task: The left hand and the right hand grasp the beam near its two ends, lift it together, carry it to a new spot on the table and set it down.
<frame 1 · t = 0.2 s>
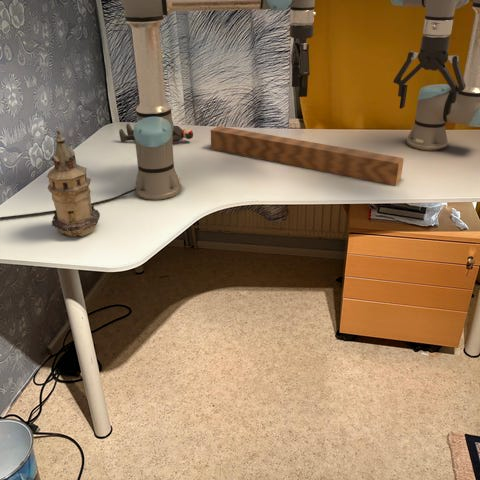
left hand: (299, 91, 180), 28 cm above the table, tool pointing down, fingers open, 13 cm apart
right hand: (424, 110, 160), 27 cm above the table, tool pointing down, fingers open, 13 cm apart
miniature building: (78, 229, 156), on the table
beam: (299, 163, 198), on the table
toy: (158, 140, 223), on the table
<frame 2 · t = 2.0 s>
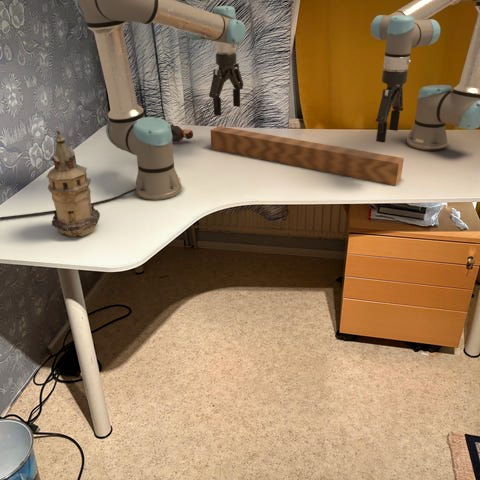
left hand: (227, 110, 205), 16 cm above the table, tool pointing down, fingers open, 13 cm apart
right hand: (387, 135, 177), 16 cm above the table, tool pointing down, fingers open, 13 cm apart
nothing on the table moved.
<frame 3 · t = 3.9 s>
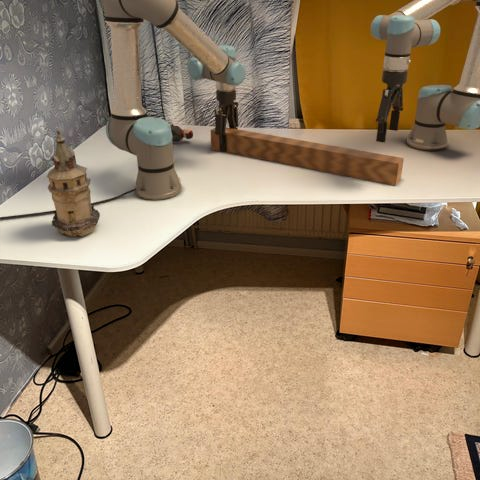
left hand: (227, 148, 212), 0 cm above the table, tool pointing down, fingers closed on beam, 6 cm apart
right hand: (387, 135, 177), 16 cm above the table, tool pointing down, fingers open, 13 cm apart
beam: (299, 163, 198), on the table, touching left hand
everything else where it was.
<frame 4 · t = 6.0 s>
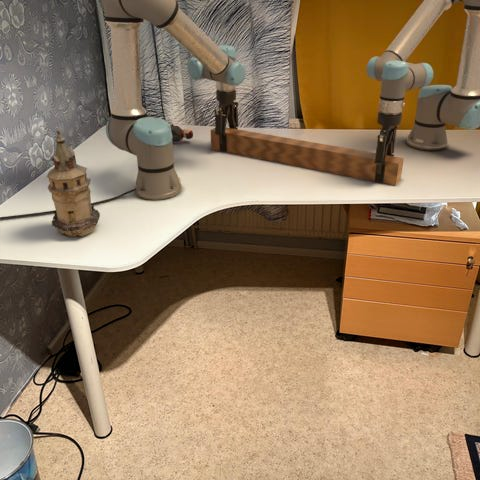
left hand: (227, 148, 212), 0 cm above the table, tool pointing down, fingers closed on beam, 6 cm apart
right hand: (381, 178, 184), 0 cm above the table, tool pointing down, fingers closed on beam, 6 cm apart
beam: (299, 163, 198), on the table, touching left hand, right hand
everything else where it was.
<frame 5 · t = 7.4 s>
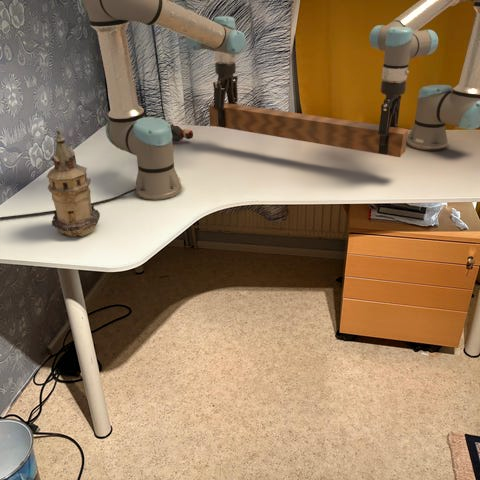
left hand: (226, 124, 207), 10 cm above the table, tool pointing down, fingers closed on beam, 6 cm apart
right hand: (385, 150, 179), 10 cm above the table, tool pointing down, fingers closed on beam, 6 cm apart
beam: (300, 137, 194), point 10 cm above the table, touching left hand, right hand
everything else where it was.
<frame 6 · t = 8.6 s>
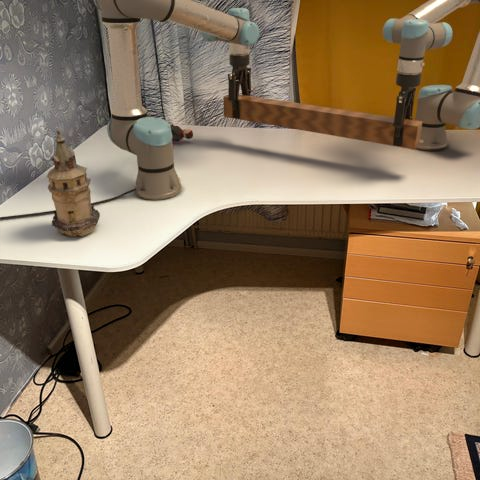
left hand: (240, 115, 209), 13 cm above the table, tool pointing down, fingers closed on beam, 6 cm apart
right hand: (400, 142, 181), 12 cm above the table, tool pointing down, fingers closed on beam, 6 cm apart
beam: (314, 129, 195), point 12 cm above the table, touching left hand, right hand
everything else where it was.
when the left hand's fingers open (2 cm above the table, at t = 11.2 s): beam drops 1 cm, on the table.
when the right hand's fingers open (2 cm above the table, at t = 11.2 s): beam drops 1 cm, on the table.
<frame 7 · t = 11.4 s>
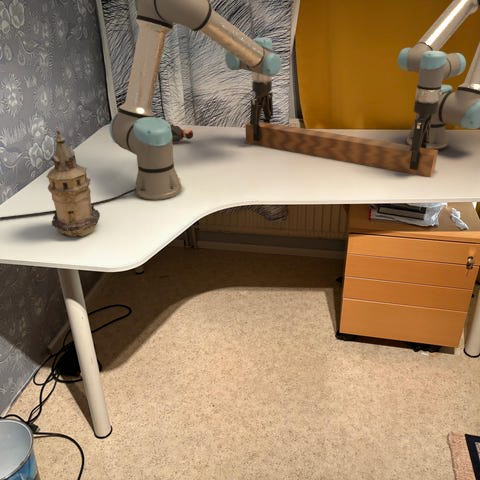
left hand: (261, 137, 217), 2 cm above the table, tool pointing down, fingers open, 8 cm apart
right hand: (416, 165, 189), 2 cm above the table, tool pointing down, fingers open, 8 cm apart
beam: (333, 156, 204), on the table
everything else where it was.
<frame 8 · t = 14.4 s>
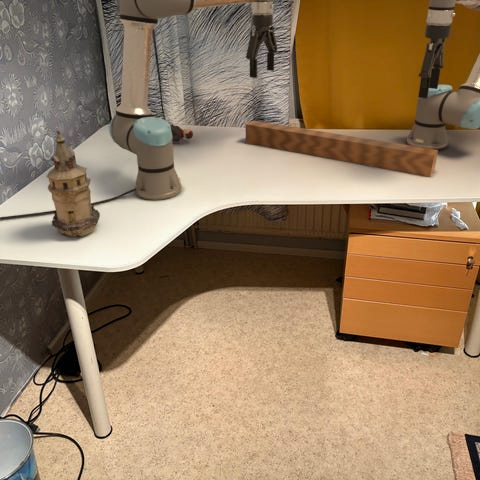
left hand: (262, 73, 205), 28 cm above the table, tool pointing down, fingers open, 13 cm apart
right hand: (428, 93, 177), 28 cm above the table, tool pointing down, fingers open, 13 cm apart
nothing on the table moved.
at the end: beam inside the target area (0.1 cm from its centre), on the table; beam tilted 0°; beam never tilted more than 1° during the clip; both hands held the beam at the same time; the left hand is holding nothing; the right hand is holding nothing; beam at rest at the end (0.0 cm/s) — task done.
